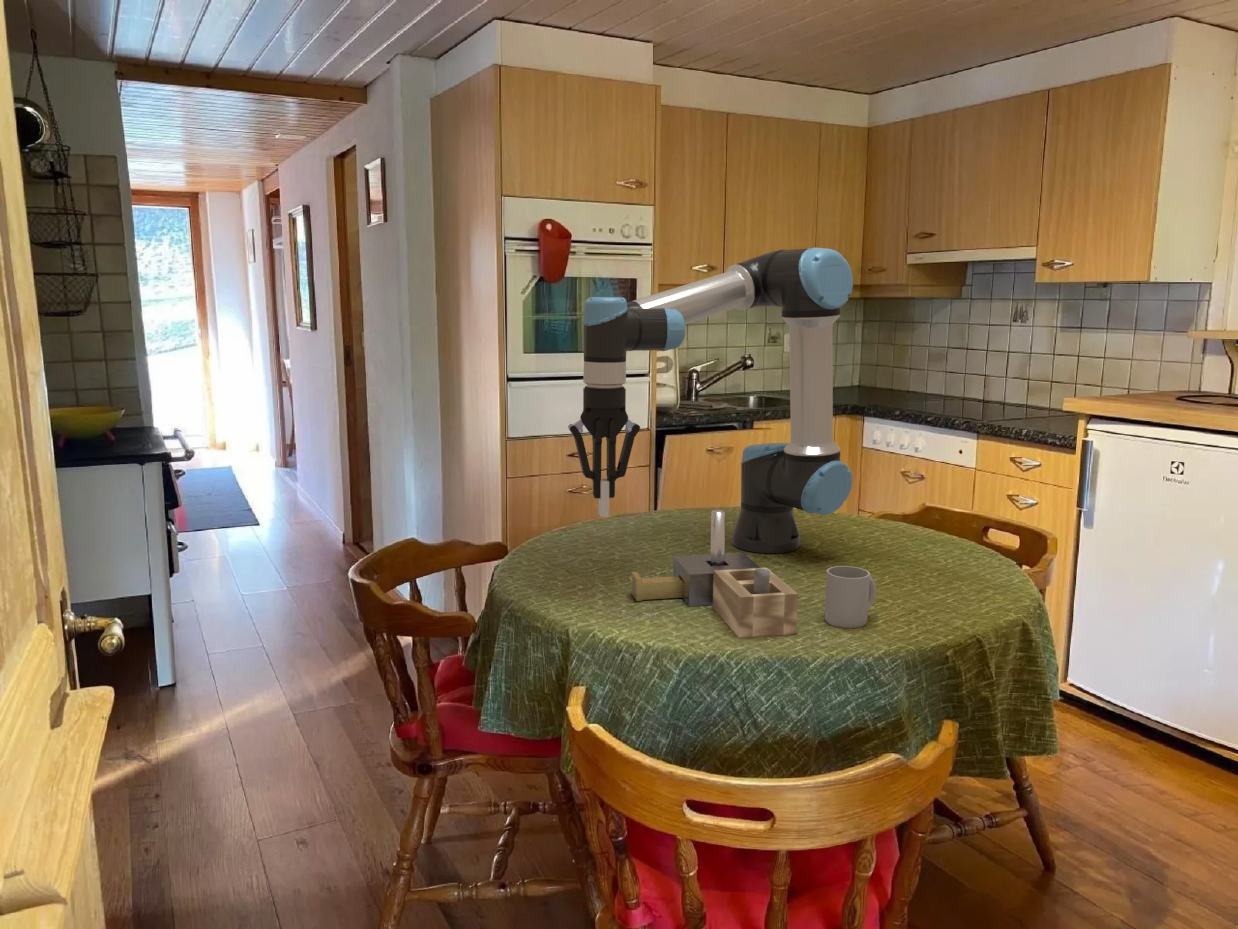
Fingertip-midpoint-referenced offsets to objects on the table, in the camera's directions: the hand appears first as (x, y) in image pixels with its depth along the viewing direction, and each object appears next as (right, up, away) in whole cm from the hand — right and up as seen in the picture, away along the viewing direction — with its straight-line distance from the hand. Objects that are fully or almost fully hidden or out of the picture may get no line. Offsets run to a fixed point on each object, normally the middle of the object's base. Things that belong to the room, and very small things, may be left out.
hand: (603, 515), depth 167 cm
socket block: (+21, -15, +7) cm, 27 cm away
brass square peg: (+10, -15, +5) cm, 19 cm away
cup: (+43, -18, -7) cm, 47 cm away
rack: (+26, -18, -7) cm, 32 cm away
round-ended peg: (+21, -15, +7) cm, 27 cm away
